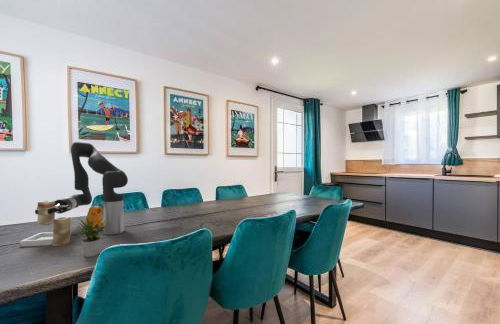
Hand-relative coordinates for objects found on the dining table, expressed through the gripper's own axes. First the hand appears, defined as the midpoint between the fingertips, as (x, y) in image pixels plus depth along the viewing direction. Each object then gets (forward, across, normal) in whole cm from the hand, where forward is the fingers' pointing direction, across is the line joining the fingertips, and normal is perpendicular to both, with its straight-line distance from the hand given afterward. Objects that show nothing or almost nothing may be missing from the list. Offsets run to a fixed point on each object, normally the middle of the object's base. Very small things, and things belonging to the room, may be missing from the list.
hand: (42, 211), depth 109 cm
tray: (-2, 0, +15) cm, 15 cm away
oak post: (+4, +10, +14) cm, 18 cm away
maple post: (-3, 0, +6) cm, 7 cm away
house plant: (+19, +28, +14) cm, 37 cm away
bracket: (-26, +12, +15) cm, 33 cm away
